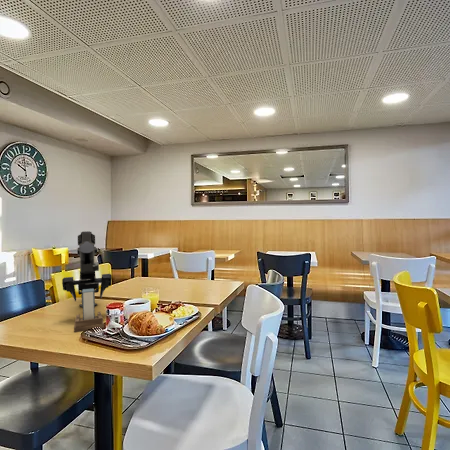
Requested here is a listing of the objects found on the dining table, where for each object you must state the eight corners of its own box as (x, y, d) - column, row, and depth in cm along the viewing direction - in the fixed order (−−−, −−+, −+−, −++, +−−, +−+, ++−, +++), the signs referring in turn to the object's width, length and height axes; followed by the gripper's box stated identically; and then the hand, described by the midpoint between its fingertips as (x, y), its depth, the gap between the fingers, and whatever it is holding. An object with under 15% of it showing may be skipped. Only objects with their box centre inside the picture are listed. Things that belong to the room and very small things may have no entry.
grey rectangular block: (83, 320, 121) (82, 289, 120) (94, 318, 122) (93, 288, 122) (83, 324, 116) (82, 292, 116) (94, 322, 117) (93, 290, 117)
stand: (75, 322, 123) (75, 313, 122) (102, 318, 127) (102, 310, 127) (74, 332, 112) (73, 322, 112) (103, 327, 116) (103, 318, 116)
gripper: (61, 257, 125) (60, 290, 115) (110, 254, 132) (113, 285, 123) (63, 274, 132) (62, 306, 122) (110, 270, 140) (112, 300, 130)
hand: (88, 299), depth 124 cm, fingers open, 9 cm apart
